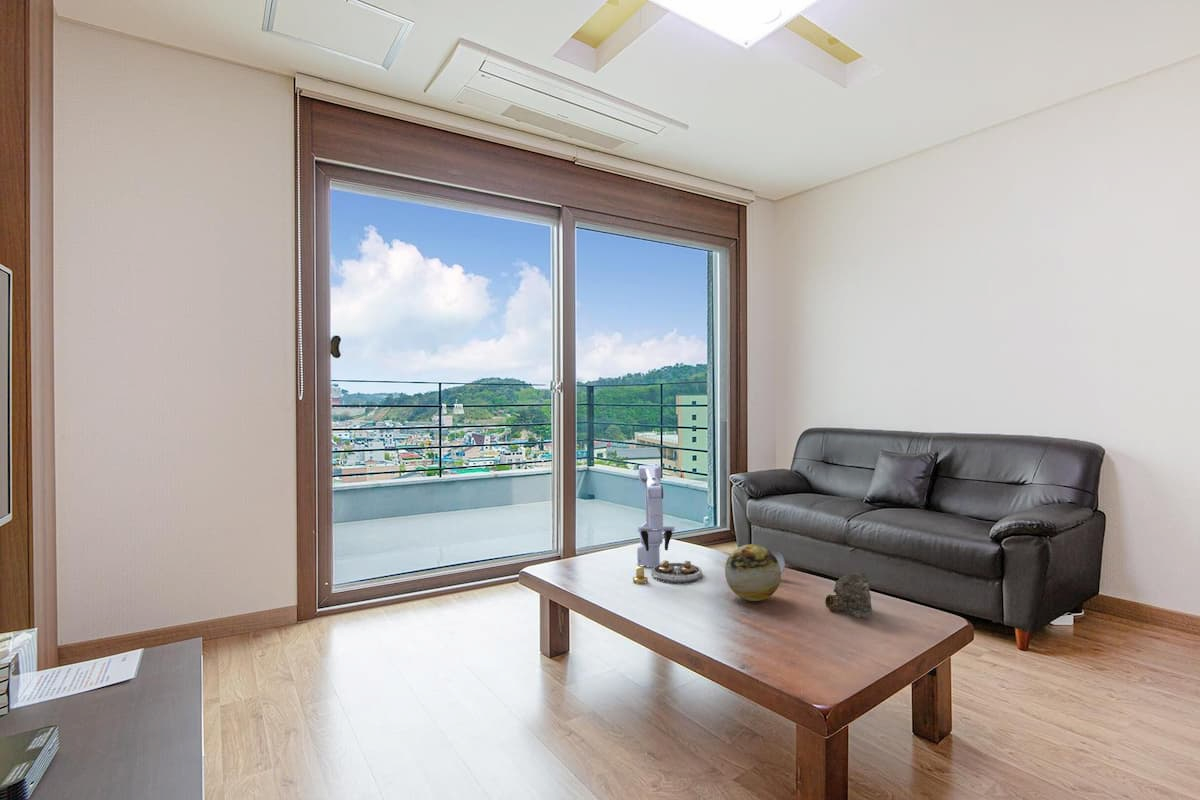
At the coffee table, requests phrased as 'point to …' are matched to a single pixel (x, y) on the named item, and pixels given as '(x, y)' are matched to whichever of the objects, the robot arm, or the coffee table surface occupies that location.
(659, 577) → the carrier
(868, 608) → the rock
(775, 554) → the pocket watch
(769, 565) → the decorative sphere
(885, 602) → the coffee table surface
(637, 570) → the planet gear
